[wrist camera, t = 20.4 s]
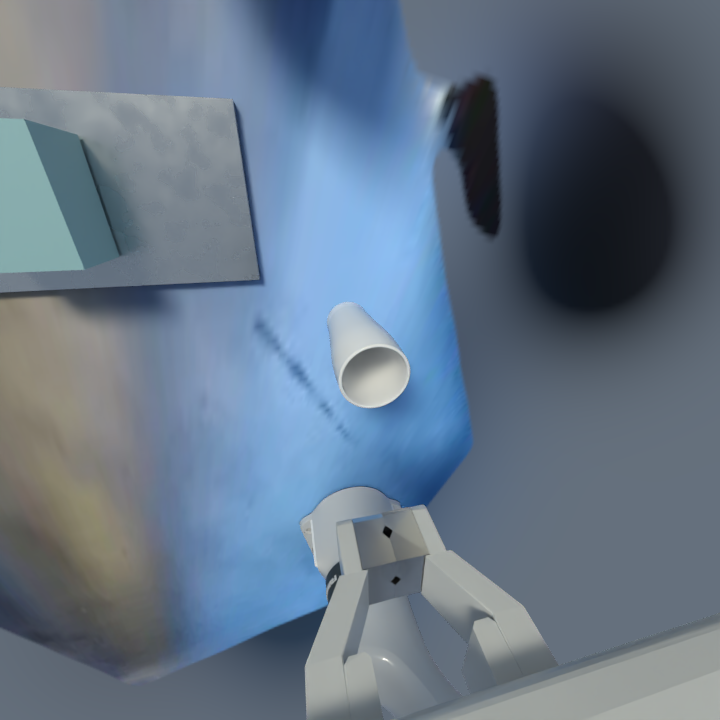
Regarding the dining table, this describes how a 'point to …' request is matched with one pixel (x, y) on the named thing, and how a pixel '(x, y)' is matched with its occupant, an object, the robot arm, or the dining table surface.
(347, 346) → the drinking glass
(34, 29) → the dining table surface
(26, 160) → the cover
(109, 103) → the base
